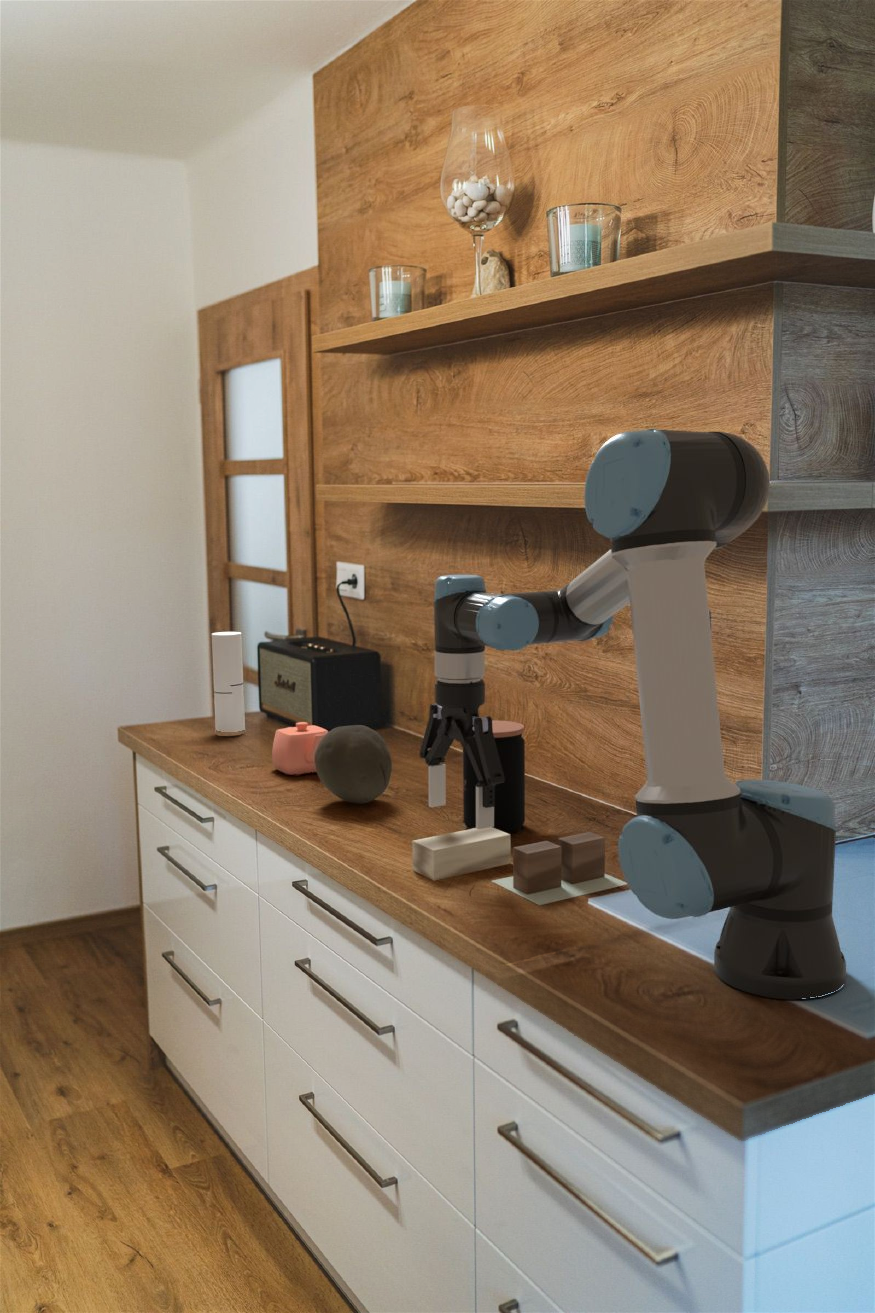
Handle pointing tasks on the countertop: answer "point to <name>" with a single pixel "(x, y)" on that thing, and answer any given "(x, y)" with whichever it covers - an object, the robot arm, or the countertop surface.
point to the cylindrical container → (228, 681)
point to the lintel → (461, 852)
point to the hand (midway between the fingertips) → (460, 816)
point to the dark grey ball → (354, 763)
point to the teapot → (296, 748)
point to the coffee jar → (507, 793)
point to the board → (564, 889)
